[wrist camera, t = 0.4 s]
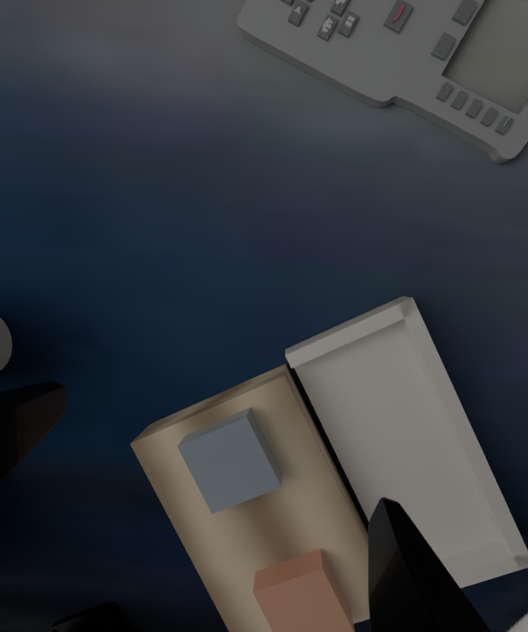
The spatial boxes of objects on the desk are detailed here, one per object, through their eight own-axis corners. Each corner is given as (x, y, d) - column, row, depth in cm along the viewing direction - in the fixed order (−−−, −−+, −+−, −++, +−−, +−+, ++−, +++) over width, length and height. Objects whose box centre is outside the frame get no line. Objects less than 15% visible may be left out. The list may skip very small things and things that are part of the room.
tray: (397, 578, 24) (406, 604, 22) (286, 348, 23) (285, 355, 21) (513, 540, 23) (534, 565, 21) (402, 296, 22) (412, 297, 20)
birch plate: (248, 614, 26) (242, 657, 23) (149, 424, 25) (130, 443, 22) (385, 569, 24) (398, 609, 21) (285, 363, 23) (284, 375, 20)
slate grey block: (217, 498, 22) (212, 514, 20) (185, 435, 21) (177, 446, 20) (282, 472, 21) (281, 487, 19) (250, 407, 21) (246, 417, 19)
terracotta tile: (286, 630, 22) (285, 655, 21) (255, 571, 22) (252, 592, 20) (351, 610, 22) (355, 634, 20) (320, 548, 21) (322, 568, 20)
